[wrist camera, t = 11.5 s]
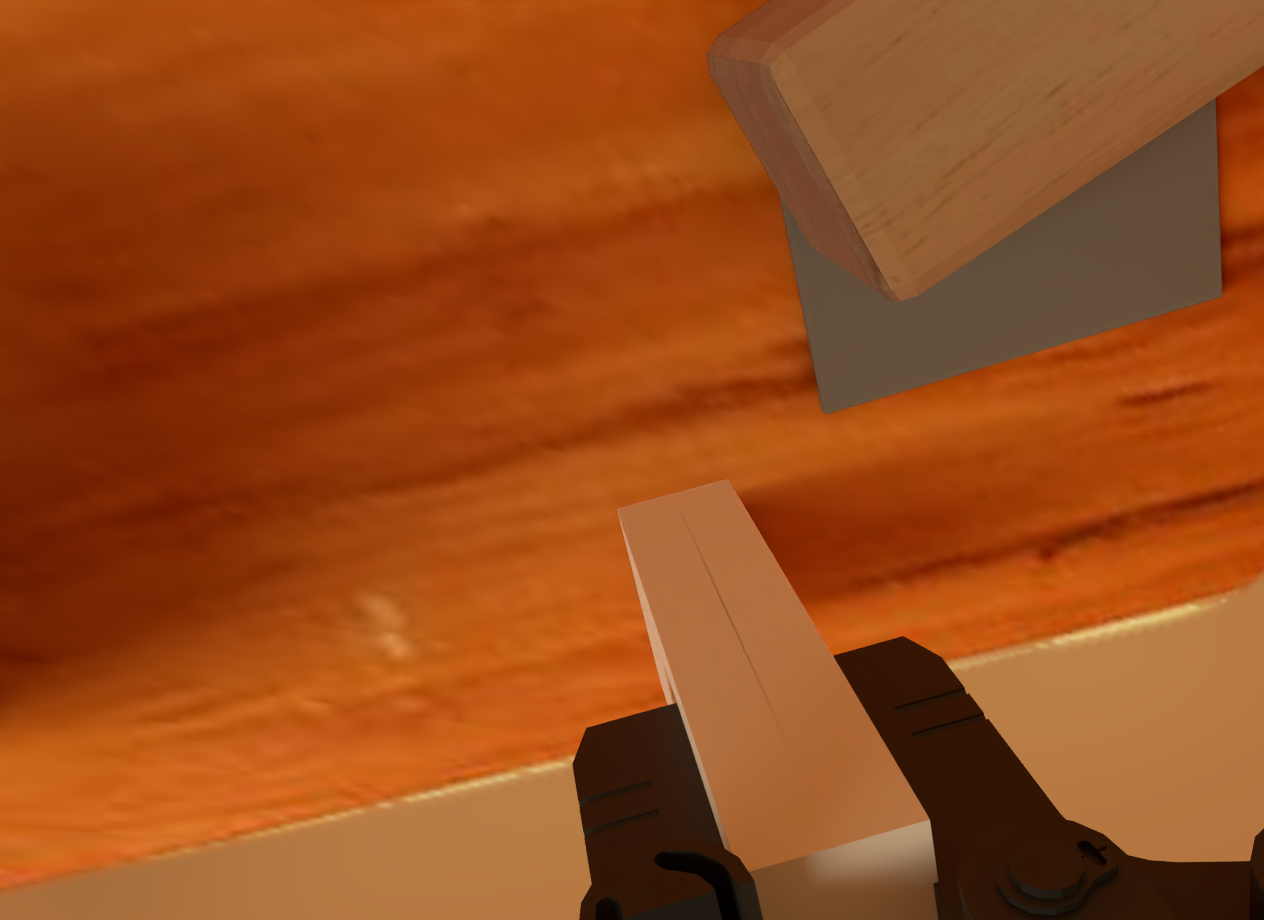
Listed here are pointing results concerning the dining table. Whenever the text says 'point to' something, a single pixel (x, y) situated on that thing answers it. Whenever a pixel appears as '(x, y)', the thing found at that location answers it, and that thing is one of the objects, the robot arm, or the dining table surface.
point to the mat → (1029, 277)
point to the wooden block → (962, 111)
